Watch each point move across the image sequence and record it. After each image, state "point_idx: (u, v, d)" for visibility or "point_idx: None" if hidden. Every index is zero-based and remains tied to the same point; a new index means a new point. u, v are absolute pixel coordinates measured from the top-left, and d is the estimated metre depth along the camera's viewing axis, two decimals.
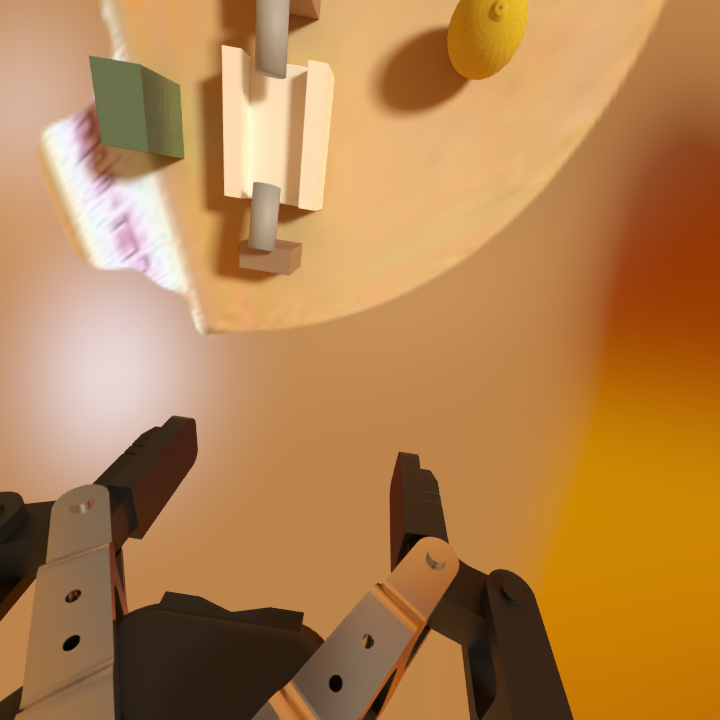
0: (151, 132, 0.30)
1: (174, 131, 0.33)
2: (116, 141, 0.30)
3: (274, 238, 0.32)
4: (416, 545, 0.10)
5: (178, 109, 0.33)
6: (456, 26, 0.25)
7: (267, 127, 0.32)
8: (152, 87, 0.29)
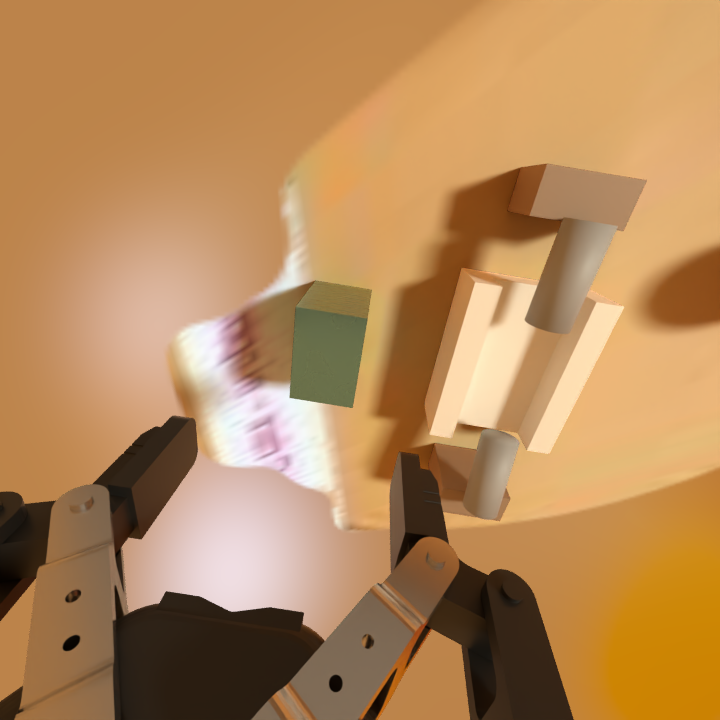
0: None
1: None
2: (310, 395, 0.22)
3: (501, 497, 0.24)
4: (416, 545, 0.10)
5: None
6: None
7: (494, 352, 0.24)
8: None
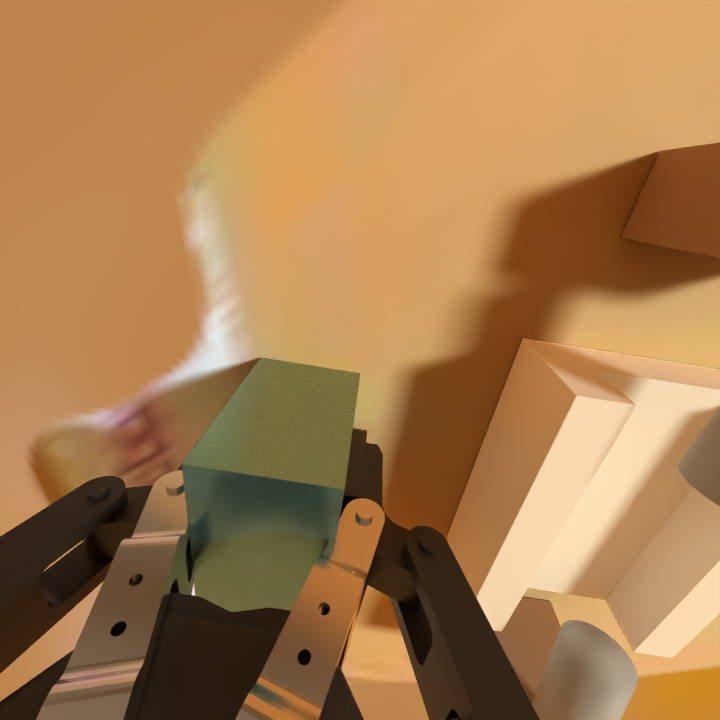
0: None
1: None
2: (236, 604, 0.11)
3: None
4: (347, 505, 0.10)
5: None
6: None
7: None
8: None
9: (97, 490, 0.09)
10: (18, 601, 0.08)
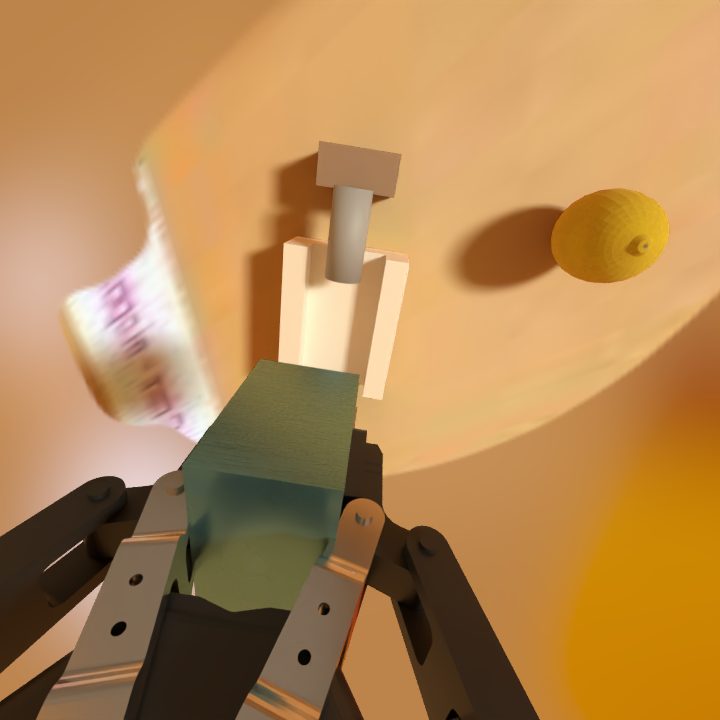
0: None
1: None
2: (236, 605, 0.11)
3: None
4: (347, 505, 0.10)
5: None
6: (576, 244, 0.21)
7: (328, 310, 0.28)
8: None
9: (98, 490, 0.09)
10: (18, 601, 0.08)
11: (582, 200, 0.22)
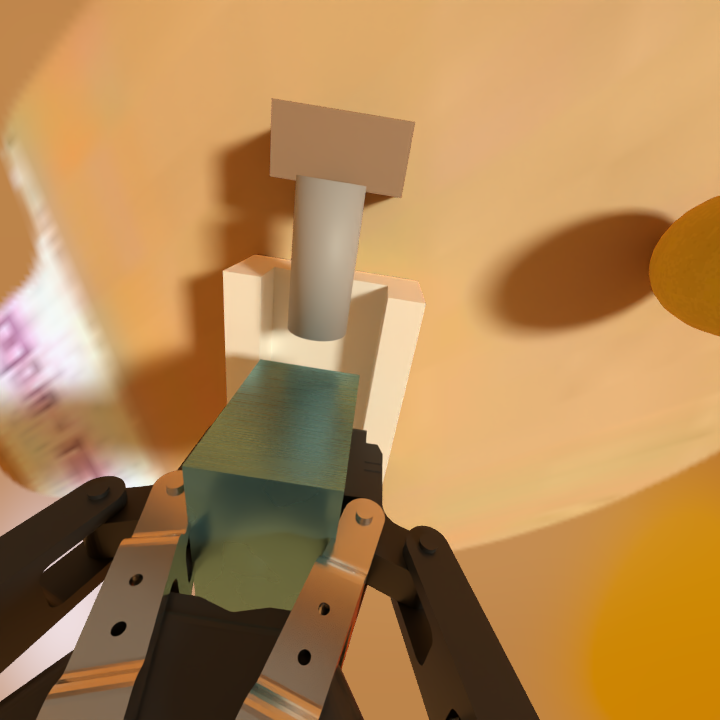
0: None
1: None
2: (236, 605, 0.11)
3: None
4: (347, 505, 0.10)
5: None
6: None
7: (301, 363, 0.19)
8: None
9: (98, 490, 0.09)
10: (18, 601, 0.08)
11: None
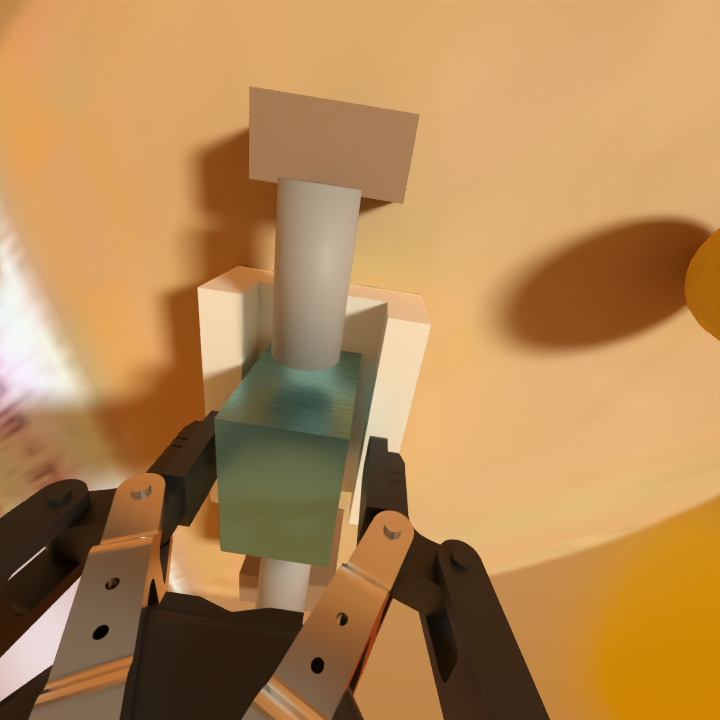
0: None
1: None
2: (255, 548, 0.13)
3: (306, 594, 0.17)
4: (375, 517, 0.10)
5: None
6: None
7: None
8: None
9: (58, 493, 0.09)
10: None
11: None
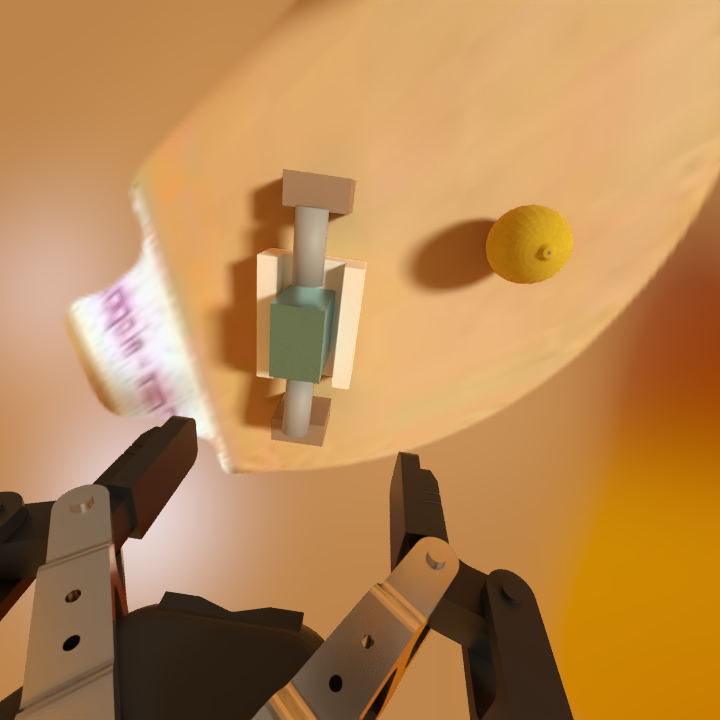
0: (321, 362, 0.28)
1: (328, 338, 0.31)
2: (284, 374, 0.27)
3: (308, 422, 0.32)
4: (416, 545, 0.10)
5: (332, 314, 0.31)
6: (499, 251, 0.25)
7: None
8: (326, 320, 0.27)
9: None
10: None
11: (505, 215, 0.26)
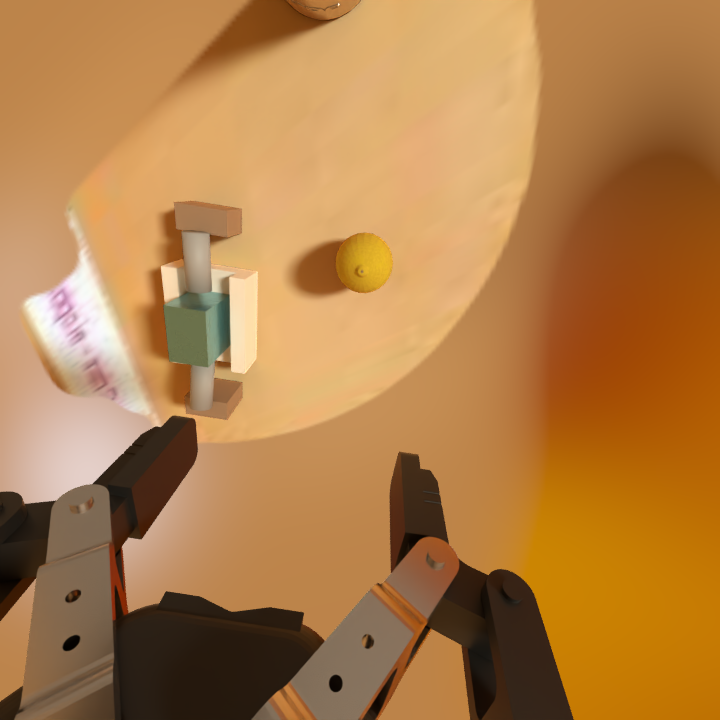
0: (210, 351, 0.36)
1: (225, 332, 0.39)
2: (181, 359, 0.35)
3: (211, 399, 0.40)
4: (416, 545, 0.10)
5: (228, 313, 0.39)
6: (337, 268, 0.33)
7: None
8: (212, 318, 0.35)
9: None
10: None
11: None
